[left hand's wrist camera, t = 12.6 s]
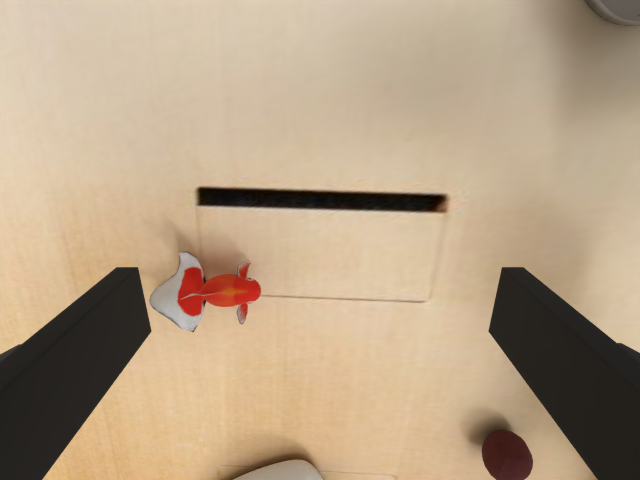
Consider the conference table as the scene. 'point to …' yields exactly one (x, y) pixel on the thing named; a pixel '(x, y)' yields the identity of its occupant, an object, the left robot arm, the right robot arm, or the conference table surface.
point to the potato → (507, 456)
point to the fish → (202, 293)
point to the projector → (284, 472)
